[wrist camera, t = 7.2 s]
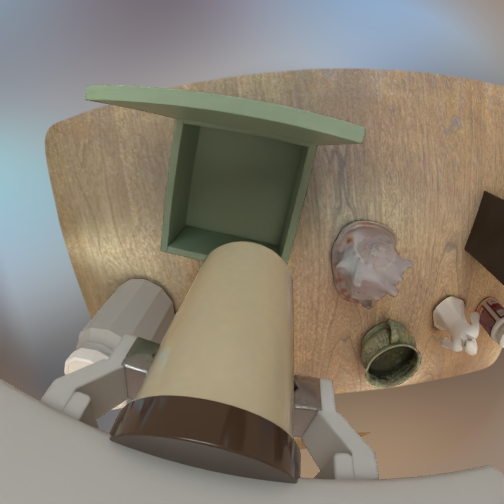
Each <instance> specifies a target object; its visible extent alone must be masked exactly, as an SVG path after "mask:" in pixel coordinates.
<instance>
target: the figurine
mask: <svg viewBox="0 0 504 504" xmlns="http://www.w3.org/2000/svg"><path fill="white" fill-rule="evenodd" d="M464 309H465V305H464V302H463V300H461V299H458V298H455V297H453V296H452V297H448V298H446V299H445V300H444V301H442V302H441V303H440V304H439V305H438V306H437V307H436V308H435V310H434V311H433V319H434V326H435V327H437V328H438V329H444V330H445V331H447V332H448V333H449V334H450V335H451V337H452V341H450V340H449V338H447V337H445V338H443V339H441V341H440V345H441V346H442V347H443V348H448V349H450V350H452V351H455V352H459V351H462V350H463V349H464V351H465V352H466V353H468V354H469V355H476V354H477V351H478V346H477V343H476V340H475V339H476V338H477V337H478V334H479V313H478V312H476V311H474V312H472V313H471V315H470V320H471V323H472V324H468V322H467V321H466V319H465V315H464Z"/></svg>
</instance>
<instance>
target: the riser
mask: <svg viewBox="0 0 504 504" xmlns="http://www.w3.org/2000/svg"><path fill="white" fill-rule="evenodd" d="M465 250H466V251H467V252H468V253H469V254H471V255H472V256H473V257H474V258H475V259H476V260H477V261H478V262H479V263H481V264H482V265H483V266H484V267H485V268H486V269H487V270H488V271H489V272H490V273H491V274H492V275H493V276H495V277H496V278H497V279H498V280H499V281H500V282H501V283H502V284H503V285H504V200H503V199H501V198H499V197H497V196H495V195H492V194H490V193H488V192H486V191H484V195H483V198H482V201H481V204H480V207H479V210H478V213H477V216H476V219H475V222H474V225H473V228H472V230H471V233H470V236H469V238H468V241H467V244H466V246H465Z"/></svg>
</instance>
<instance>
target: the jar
mask: <svg viewBox="0 0 504 504" xmlns="http://www.w3.org/2000/svg"><path fill="white" fill-rule="evenodd" d="M174 316H175V313H174V308H173V302H172V301H171V299H170V298H169V297H168V295H167V294H166V293H165V292H164V290H163V289H162V288H161V287H159V286H157V285H155V284H153V283H152V282H150V281H148V280H145V279H130V280H128V281H127V282H125V283H124V284H122V285H120V286H119V287H118V288H117V290H116V291H115V292H114V293H113V294H112V295H111V297H110V298H109V299H108V300H107V301H106V302H105V304H104V305H103V306H102V307H101V308H100V310H99V311H98V312H97V313H96V314H95V316H94V317H93V318H92V319H91V321H90V322H89V323H88V324H87V325H86V326H85V328H84V329H83V330H82V331H81V333H80V334H79V339H78V345H77V347H76V351H75V352H73V353H72V354H71V355H70V356H69V358H68V359H67V360H66V362H65V369H64V373H65V375H67V374H69V373H72V372H74V371H77V370H79V369H81V368H84V367H86V366H89V365H91V364H93V363H96V362H98V361H100V360H103V359H106V360H108V358H109V357H110V355H111V354H112V352H113V351H114V349H115V348H116V346H117V344H118V343H119V341H120V340H121V338H122V337H123V335H125V334H126V333H128V334H131V335H134V336H137V337H140V338H143V339H146V340H150V341H153V342H156V343H159V344H161V342H162V340H163V338H164V336H165V334H166V332H167V330H168V328H169V326H170V324H171V322H172V320H173V318H174ZM127 400H128V399H127ZM127 400H126V401H124V402H123V403H121V404H120V405H118V406H116V407H115V408H113V409H112V410H114V409H118V408H122V407H124V406H125V405H126V402H127Z"/></svg>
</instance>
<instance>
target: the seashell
mask: <svg viewBox="0 0 504 504" xmlns="http://www.w3.org/2000/svg"><path fill="white" fill-rule="evenodd" d="M396 245H397V237H396V235H395V233H394V232H393V231H392V229H391V228H389V227H388V226H386V225H383V224H380V223H377V222H373V221H356V222H353V223H351V224H349V225H347V226H346V227H344V228H343V229H342V230H341V231H340V233H339V235H338V237H337V239H336V240H335V242H334V244H333V248H332V269H333V278H334V284H335V287H336V289H337V292H338V293H339V294H340V296H341V297H342V298H343V299H345V300H347V301H350V302H356V303H361V304H362V305H363V307H365V308H368V309H370V308H372V303H371V300H374V301H379V300H381V299H382V297H383V296H384V295H385V294H387V293H388V294H389V295H391V296H393V297H396V296H397V295H398V289H397V288H396V287H395V286H396V285H398V284H400V281H402V280H403V278H402V275H403V273H404V272H405V270H407V269H408V268H409V267H412V266H413V265H414V264H413V262H412V261H411V260H408V259H402V258H401V257H400V256H399V254H397V252H396V251H395V250H396Z"/></svg>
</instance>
